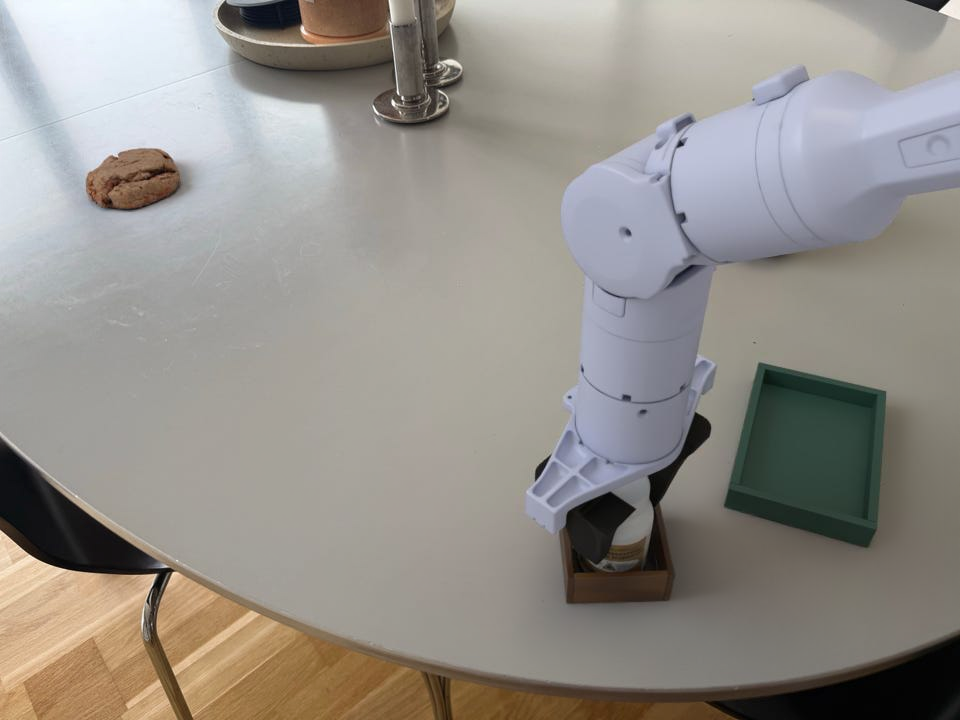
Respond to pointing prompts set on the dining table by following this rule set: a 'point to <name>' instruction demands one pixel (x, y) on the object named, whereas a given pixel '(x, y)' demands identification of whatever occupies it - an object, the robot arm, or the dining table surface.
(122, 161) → the cookie
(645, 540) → the pill bottle
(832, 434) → the tray
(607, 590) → the wooden frame
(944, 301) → the dining table surface
